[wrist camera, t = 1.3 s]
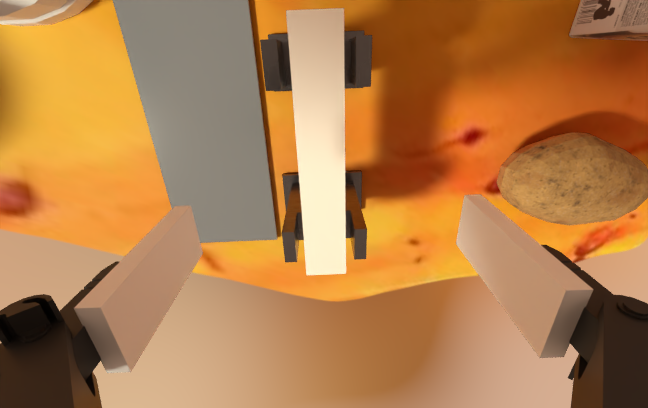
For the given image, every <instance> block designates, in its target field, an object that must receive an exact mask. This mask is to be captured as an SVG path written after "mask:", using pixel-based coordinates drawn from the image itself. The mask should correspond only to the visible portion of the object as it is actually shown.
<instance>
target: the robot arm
mask: <svg viewBox="0 0 648 408" xmlns="http://www.w3.org/2000/svg"><path fill="white" fill-rule="evenodd" d="M456 245H457V246H458V247H459V249H460V250H461V251H462V253H463V254H464V255H465V257H466V258H467V260H468V261H469V262H470V264H471V265H472V266H473V268H474V269H475V270H476V272H477V273H478V275H479V276H480V277H481V279H482V280H483V281H484V283H485V284H486V285H487V287H488V288H489V289H490V291H491V292H492V293H493V295H494V296H495V298H496V299H497V300H498V302H499V303H500V304H501V306H502V307H503V308H504V310H505V311H506V313H507V314H508V315H509V317H510V318H511V319H512V321H513V322H514V323H515V325H516V326H517V328H518V329H519V330H520V332H521V333H522V334H523V336H524V337H525V338H526V340H527V341H528V343H529V344H530V345H531V347H532V348H533V349H534V351H535V352H536V353H537V355H538V356H539V357H540V358H548V357H564V355H565V353H566V351H567V348H568V346H569V344H571V345H572V346H573V347H574V348H575V349H576V350H577V351H578V353H579V355H578V358H577V359H576V362H575V364H574V366H573V368H572V370H571V372H570V374H569V376H568V378H569V379H571V380H573V378H574V382H573V392H572V401H571V408H648V304H647V303H645V302H642V301H640V300H637V299H635V298H631V297H627V296H623V295H613V294H612V293H611V292H610V291H608V290H607V289H606V288H604V287H603V286H602V285H601V284H600V283H598V282H597V281H596V280H595V279H593V278H592V277H591V276H590V275H588V274H587V273H586V272H585V271H583V270H581V268H580V267H578V266H577V265H576V264H575V263H572V261H571V260H570V259H568V258H567V257H566V256H565V255H563V254H562V253H561V252H559V251H557V250H555V249H553V248H551V247H549V246H547V245H540V244H539V243H538V242H537V241H535V240H534V239H533V238H532V237H531V236H529V235H528V234H527V233H526V232H525V231H523V230H522V229H521V228H520V227H519V226H518V225H516V224H515V223H514V222H513V221H512V220H510V219H509V218H508V217H507V216H506V215H504V214H503V213H502V212H501V211H500V210H499V209H497V208H496V207H495V206H494V205H493V204H491V203H490V202H489V201H488V200H487V199H486V198H484V197H483V196H482V195H481V194H479V195H465V196H464V201H463V207H462V213H461V218H460V224H459V230H458V235H457V241H456ZM202 254H203V252H202V248H201V244H200V240H199V236H198V232H197V228H196V224H195V220H194V216H193V212H192V208H191V206H175V207H174V208H173V209H172V210H171V211H170V212H169V213H168V214H167V215H166V216H165V217H164V218H163V219H162V220H161V221H160V222H159V223H158V224H157V225H156V226H155V227H154V228H153V229H152V230H151V231H150V232H149V233H148V234H147V235H146V236H145V237H144V238H143V239H142V240H141V241H140V242H139V243H138V244H137V245H136V246H135V247H134V248H133V249H132V250H131V251H130V252H129V253H128V254H127V255H126V256H125V257H124V258H123V259H122V260H121V261H120V262H115V263H113V264H111V265H110V266H108V267H107V268H105V269H103V270H102V271H101V272H100V273H99V274H98V275H97V276H96V277H95V278H93V279H92V282H89V283H88V284H87V285H86V286H85V287H84V290H81V291H80V292H79V293H78V294H77V295H76V296H75V297H74V298H73V299H72V300H71V301H70V302H69V303H68V304H67V305H66V306H64V307H63V308H62V310H60V311H59V310H58V308H57V306H56V304H55V303H54V301H53V299H52V298H51V296H49V295H44V294H43V295H34V296H31V297H27V298H24V299H21V300H19V301H17V302H15V303H12V304H10V305H9V306H7V307H6V308H4V309H2V310H1V311H0V341H1V342H2V343H1V344H0V408H102V406H101V400H100V395H99V390H98V384H97V379H96V377H95V375H94V374H93V370H94V369H95V367H96V366H97V365H98V363H99V362H100V361H101V362H102V364H103V366H104V368H105V370H106V372H107V373H115V372H117V373H118V372H131V371H132V369H133V368H134V366H135V364H136V363H137V361H138V359H139V358H140V356H141V354H142V353H143V351H144V349H145V348H146V346H147V345H148V343H149V341H150V340H151V338H152V336H153V335H154V333H155V331H156V330H157V328H158V326H159V325H160V323H161V321H162V320H163V318H164V317H165V315H166V313H167V312H168V310H169V308H170V307H171V305H172V303H173V301H174V300H175V298H176V297H177V295H178V293H179V292H180V290H181V288H182V287H183V285H184V283H185V282H186V280H187V279H188V277H189V275H190V274H191V272H192V270H193V269H194V267H195V265H196V264H197V262H198V260H199V259H200V257H201V255H202Z"/></svg>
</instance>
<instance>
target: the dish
mask: <svg viewBox="0 0 648 408" xmlns="http://www.w3.org/2000/svg"><path fill="white" fill-rule="evenodd" d="M92 1H93V0H0V24H2V25H5V24H6V25H15V26H34V25H52V24H55V23H57V22H60V21H62V20H65V19H67V18H70V17H72V16H75V15H77V14H79V13H80V12H81V11H82V10H83V9H84V8H86V7H87V6H88V5H89V4H90V3H91V2H92Z"/></svg>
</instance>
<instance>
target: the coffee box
mask: <svg viewBox="0 0 648 408" xmlns="http://www.w3.org/2000/svg"><path fill="white" fill-rule="evenodd" d="M569 36H570V37H571V38H588V39H614V40H641V41H648V0H581V1H580V4H579V7H578V10H577V13H576V16H575V19H574V21H573V24H572V27H571V30H570V33H569Z"/></svg>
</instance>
